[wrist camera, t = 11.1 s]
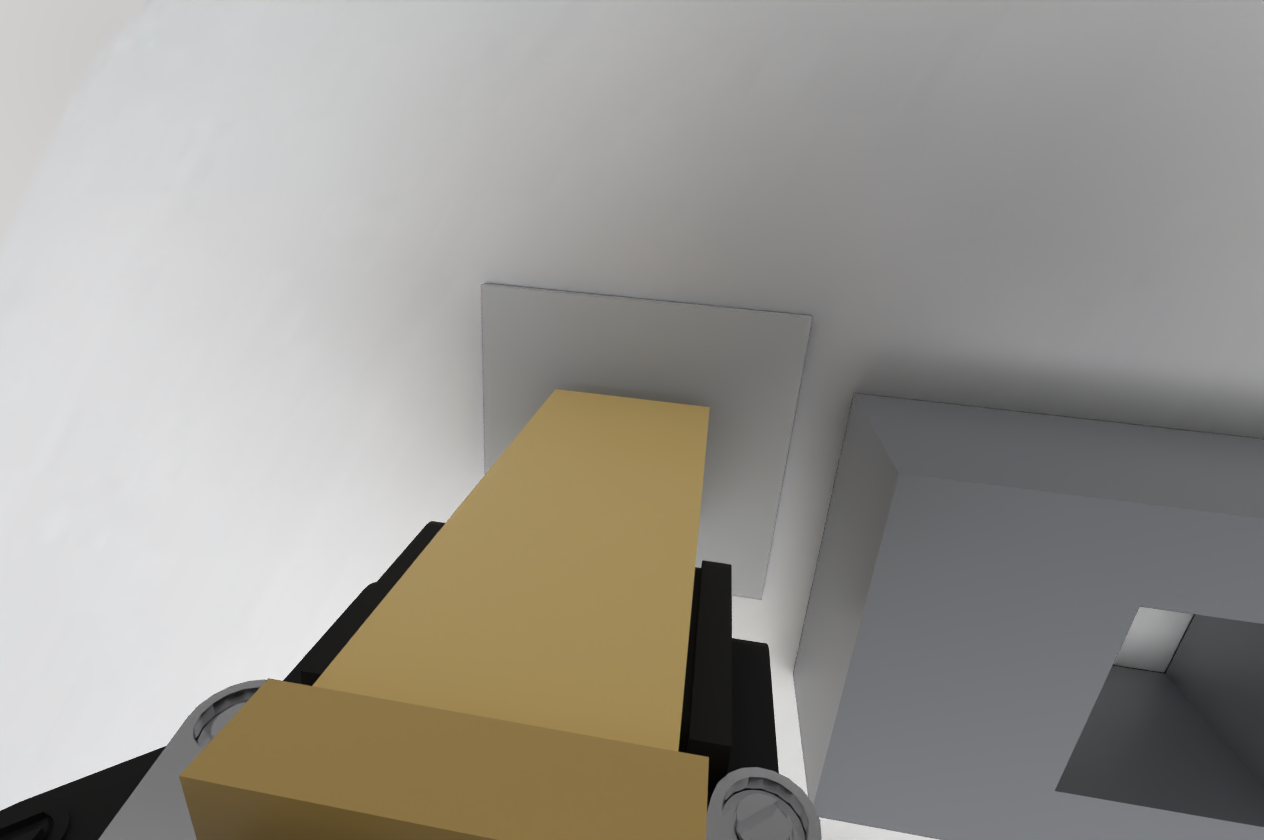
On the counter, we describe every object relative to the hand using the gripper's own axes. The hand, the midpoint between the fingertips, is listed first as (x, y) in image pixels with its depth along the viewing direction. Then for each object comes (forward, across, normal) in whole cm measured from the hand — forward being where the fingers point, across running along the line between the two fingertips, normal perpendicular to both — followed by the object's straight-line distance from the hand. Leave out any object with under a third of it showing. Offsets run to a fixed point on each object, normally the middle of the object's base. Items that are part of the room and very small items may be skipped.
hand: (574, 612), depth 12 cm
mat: (+8, 0, 0) cm, 8 cm away
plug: (+6, 0, 0) cm, 6 cm away
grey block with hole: (+8, -14, +2) cm, 16 cm away
